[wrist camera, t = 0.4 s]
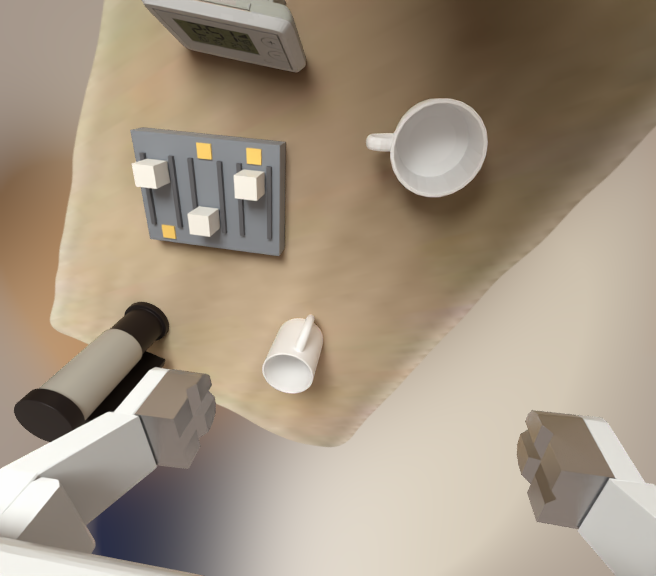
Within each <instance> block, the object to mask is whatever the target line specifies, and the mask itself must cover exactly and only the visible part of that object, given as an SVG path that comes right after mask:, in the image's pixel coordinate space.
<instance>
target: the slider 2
mask: <svg viewBox="0 0 656 576" xmlns="http://www.w3.org/2000/svg"><path fill="white" fill-rule="evenodd" d="M187 215H188V223H189V231H190V234H193V235H200V236H208V237H210V236H212V235H213V234H214V233H215V232H216V231H217V230H219V229H220V220H219V209H217V208H209V207H201V206H199V207H197V208H195V209H194V210H192V211H191V212H189V213H188V214H187Z"/></svg>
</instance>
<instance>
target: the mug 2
mask: <svg viewBox="0 0 656 576" xmlns="http://www.w3.org/2000/svg"><path fill="white" fill-rule="evenodd" d="M366 145H367V147H368V149H371V150H375V151H390V160H391V164H392V168H393V171H394V173H395V175H396V177H397V179H398V181H399V182H400V183H401V184H402V185H403V186H404V187H405V188H406V189H408V190H410V191H411V192H413V193H415V194H417V195H421V196H425V197H442V196H446V195H450V194H453V193H454V192H456V191H458V190H460V189H462V188H464V187H465V186H466V185H467V184H468V183H469V182H470V181H472V180H473V179H474V177H475V176H476V174H477V173H478V172H479V170H480V169H481V167H482V164H483V162H484V160H485V157H486V152H487V146H488V139H487V131H486V128H485V126H484V123H483V121H482V119H481V117H480V116H479V115H478V114H477V112H476V111H475V110H474V109H473V108H472V107H470V106H468V105H467V104H465V103H464V102H462V101H458V100H454V99H450V98H436V99H428V100H425V101H422V102H419V103H418V104H416V105H414V106H413V107H411V108H410V109H409V110H408V111H407V112H406V113H405V114H404V115H403V116H402V118H401V120H400V122H399V123H398V125H397V127H396V130H395V132H394V133H379V134H370V135H369V136H368V137H367V139H366Z"/></svg>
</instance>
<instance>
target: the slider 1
mask: <svg viewBox="0 0 656 576" xmlns="http://www.w3.org/2000/svg"><path fill="white" fill-rule="evenodd" d="M132 168H133V174H134V179H135V184H136V186H137V187H145V188H154V189H157V188H160V187H162V186H164V185H166V184H168V183H170V178H169V171H168V164H167V161H164V160H155V159H144V160H141V161H138V162H135V163H132Z"/></svg>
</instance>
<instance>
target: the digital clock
mask: <svg viewBox="0 0 656 576" xmlns="http://www.w3.org/2000/svg"><path fill="white" fill-rule="evenodd" d="M142 1H143V3H144V5H145V7H146V8H147V9H148V10H149V11H150V12H151V13H152V14H153V15H154V16H155V17H156V18H157V19H158V20H159V21H160V22H161V23H162V24H163V25H164V26H165V27H166V28H167V29H168V31H169V32H170V33H171V34H172V35H173V36H174V37H175V38H176V39H177V40H178V41H179V42H180V43H181V44H182V45H183V46H185V47H186V48H188V49H190V50H193V51H198V52H202V53H207V54H211V55H216V56H221V57H225V58H230V59H235V60H239V61H244V62H249V63H253V64H258V65H263V66H267V67H272V68H276V69H281V70H286V71H291V72H299V71H300V70H301V69H303V68H304V67H305V66H306V56H305V53H304V50H303V47H302V44H301V41H300V37H299V34H298V31H297V28H296V25H295V22H294V19H293V16H292V14H291V12H290V10H289V9H288V8H287V7H286V6H285V0H142Z"/></svg>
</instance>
